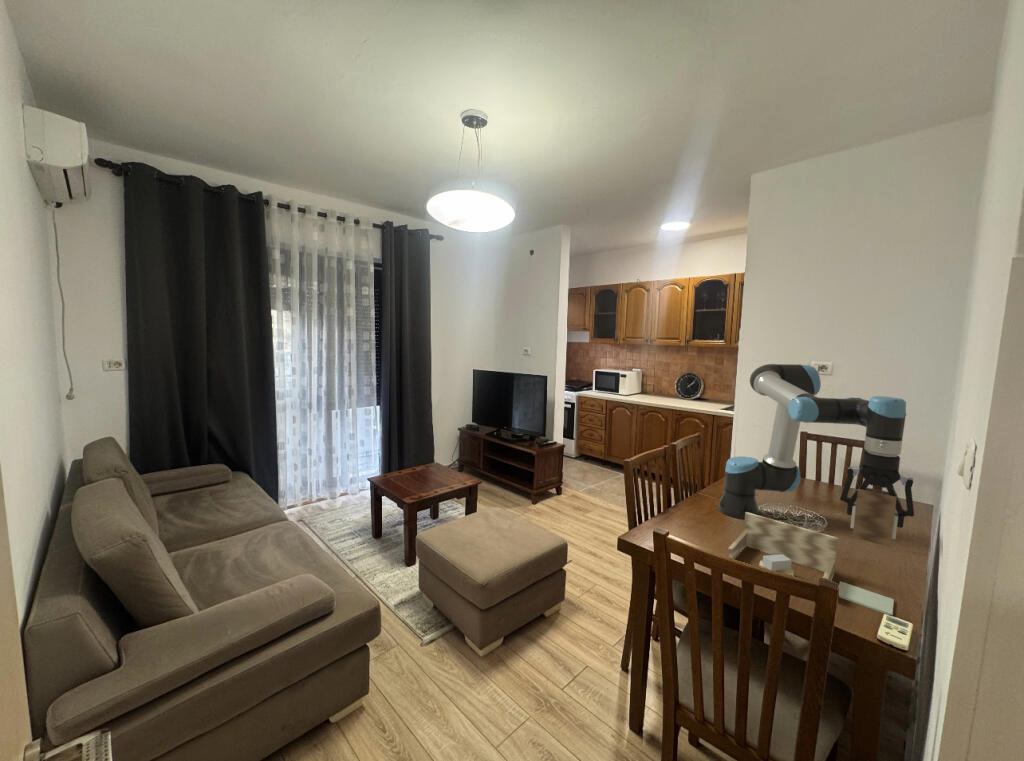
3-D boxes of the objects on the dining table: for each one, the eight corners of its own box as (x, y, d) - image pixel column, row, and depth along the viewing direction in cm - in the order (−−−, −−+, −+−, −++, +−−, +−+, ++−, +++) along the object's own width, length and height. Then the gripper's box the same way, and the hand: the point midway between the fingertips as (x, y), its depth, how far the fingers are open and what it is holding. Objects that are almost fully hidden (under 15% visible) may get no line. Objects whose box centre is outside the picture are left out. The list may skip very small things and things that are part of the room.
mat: (835, 596, 118) (836, 594, 118) (840, 583, 125) (840, 581, 125) (892, 616, 110) (892, 614, 110) (893, 601, 116) (893, 599, 116)
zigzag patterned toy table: (726, 563, 135) (728, 529, 133) (743, 543, 148) (746, 511, 147) (824, 600, 116) (828, 560, 115) (834, 573, 130) (838, 537, 128)
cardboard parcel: (852, 536, 117) (857, 489, 115) (854, 532, 120) (859, 485, 118) (890, 547, 111) (896, 497, 110) (891, 542, 114) (897, 493, 112)
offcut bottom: (758, 573, 130) (759, 564, 129) (759, 569, 132) (760, 560, 132) (792, 584, 124) (793, 575, 124) (793, 579, 127) (794, 569, 127)
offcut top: (771, 571, 126) (772, 561, 126) (762, 564, 129) (763, 555, 129) (790, 569, 127) (791, 560, 127) (781, 563, 131) (782, 554, 130)
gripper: (832, 447, 117) (824, 523, 120) (936, 464, 103) (925, 550, 105) (835, 443, 123) (828, 516, 125) (935, 458, 108) (924, 540, 111)
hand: (872, 531), depth 115 cm, fingers closed on cardboard parcel, 8 cm apart
